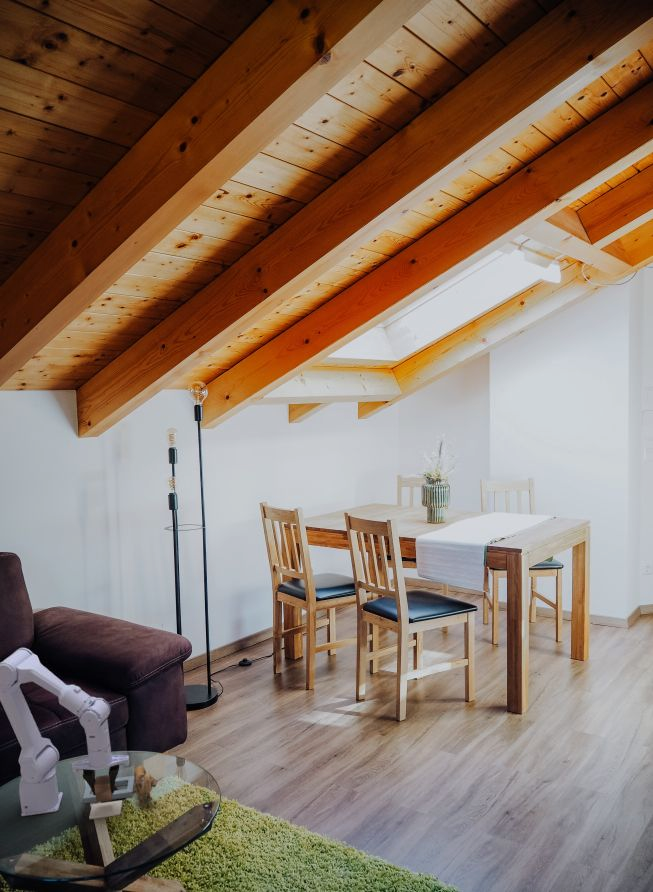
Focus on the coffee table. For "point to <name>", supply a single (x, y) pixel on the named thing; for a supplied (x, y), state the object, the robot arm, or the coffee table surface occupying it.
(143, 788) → the lion figurine
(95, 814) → the rubber mat
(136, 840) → the coffee table surface
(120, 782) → the puzzle board
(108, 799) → the walnut block
